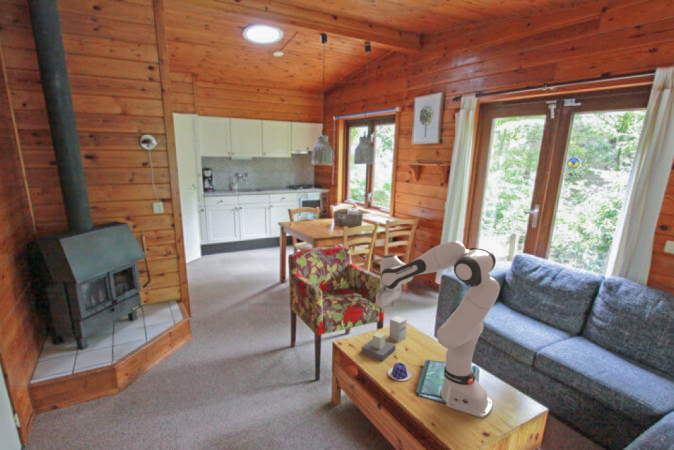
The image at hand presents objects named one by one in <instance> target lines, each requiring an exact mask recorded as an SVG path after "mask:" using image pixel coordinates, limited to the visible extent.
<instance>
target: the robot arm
mask: <svg viewBox="0 0 674 450" xmlns="http://www.w3.org/2000/svg"><path fill="white" fill-rule="evenodd" d="M496 261H497V259H496V256H495V254H494V253H493V252H492V251H490V250H488V249H485V248H477V247H470V248H469V249H467V248H466V247H465V245H464V244H463V243H462V242H461V241H459V240H451V241H447V242H444V243H441V244H438V245H436V246H434V247H432V248H430V249H428V250H427V251H426V252H423V254H421V255H420V256H418V257H417V258H415V259H413V260H412V261H410V262H408V263H405V262H404V261H402V260H401V259H399V257H398V256H397V255H396V254H386V255H384V256H382V257H381V259H380V266H379V269H380V271H379V272H380V280H379V283H380V284H379V285H380V286H379V290H378V291H377V293H376V295H375V306H376V307H379V308H380V309H381V313H382V314H384V313H386V312H387V309H386V308H385V307H386V306H387V305H388V304H390V307H392V308H394V307H395V306H396V302H397V299H398V298H400V297H401V295H402V285H405V284H407V283H409V282H411V281H412V280H413V279H414V277H416V276H418V275H423V274H430V273H436V272H441V271H445V270H447V269H451V268H453V273H454V275H455V276H456V278H457V280H459V281H461V282H462V283H464V285H466V286H467V287H469V289H468V290H467V292H466V293H465V295H464V297H463V299H462V301H461V302H460V304H459V305H458V307H457V308H455V310H454V311H453V313H451V315H450V316H449V317H448V318H447V320H446V321H444V323H443V324H442V325H441V326H440V327H438V329H437V332H436V336H437V340H438V343H439V344H440V345H441V346H442V347H443V348H446V355H445V365H444V369H443V377H444V378H443V383H442V388H441V389H440V392H441V394H440V397H441V398H442V400H443V401H444V402H445V405H446V407H448V408H449V409H454V410H456V411H458V412H461V413H465V414H469V415H472V416H475V417H478V418H485V417H487V416H488V415H490V413H491V411H492V409H493V401H492V399H491V398H489V397H488V393H487V389H485V387H483V386H482V385H481V383H480V382H478V381H477V380H476V376H477V372H474V373H473V371H472V363H473V362H472V361H473V355H474V352H475V349H476V346H477V342H478V340H479V338H480V336H481V334H482V332H483V331H484V320H485V319H486V316H488V314H489V312H490V311H491V309H492V308H493V306H494V304H495V303H496V300H497V298H498V296H499V294H500V291H501V287H500V283H499V282H498V281H497V280H496V278H494V277H492V276H491V274H490V272H491V271H493V269H494V268H495V267H496V263H497V262H496Z"/></svg>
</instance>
